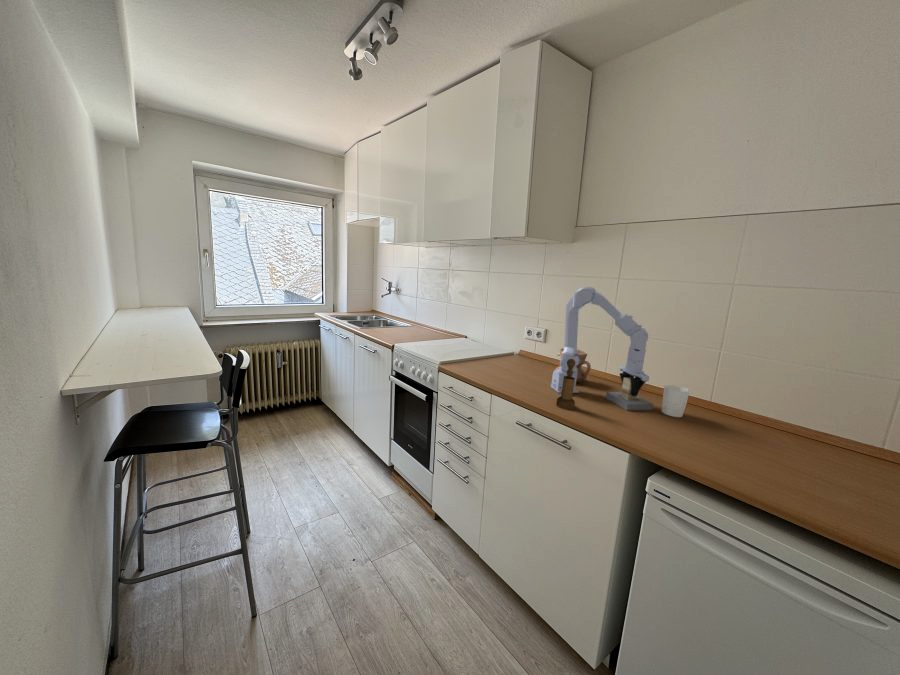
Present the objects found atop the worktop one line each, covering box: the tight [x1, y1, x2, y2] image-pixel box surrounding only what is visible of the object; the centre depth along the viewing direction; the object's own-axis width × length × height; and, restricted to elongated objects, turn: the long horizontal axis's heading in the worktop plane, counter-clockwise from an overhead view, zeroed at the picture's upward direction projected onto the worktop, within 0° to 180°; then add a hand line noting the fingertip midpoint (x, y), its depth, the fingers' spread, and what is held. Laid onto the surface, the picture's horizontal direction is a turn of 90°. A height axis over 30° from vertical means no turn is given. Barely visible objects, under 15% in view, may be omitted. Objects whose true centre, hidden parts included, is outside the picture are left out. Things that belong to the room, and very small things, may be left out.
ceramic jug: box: [554, 347, 592, 383], centre depth 167 cm, size 18×14×14 cm
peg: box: [620, 377, 638, 400], centre depth 140 cm, size 4×4×8 cm
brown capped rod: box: [555, 359, 576, 410], centre depth 132 cm, size 7×6×18 cm
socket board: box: [605, 391, 654, 411], centre depth 141 cm, size 11×13×2 cm
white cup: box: [661, 384, 690, 418], centre depth 133 cm, size 8×8×10 cm
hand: (629, 393), depth 140 cm, fingers closed on peg, 4 cm apart
